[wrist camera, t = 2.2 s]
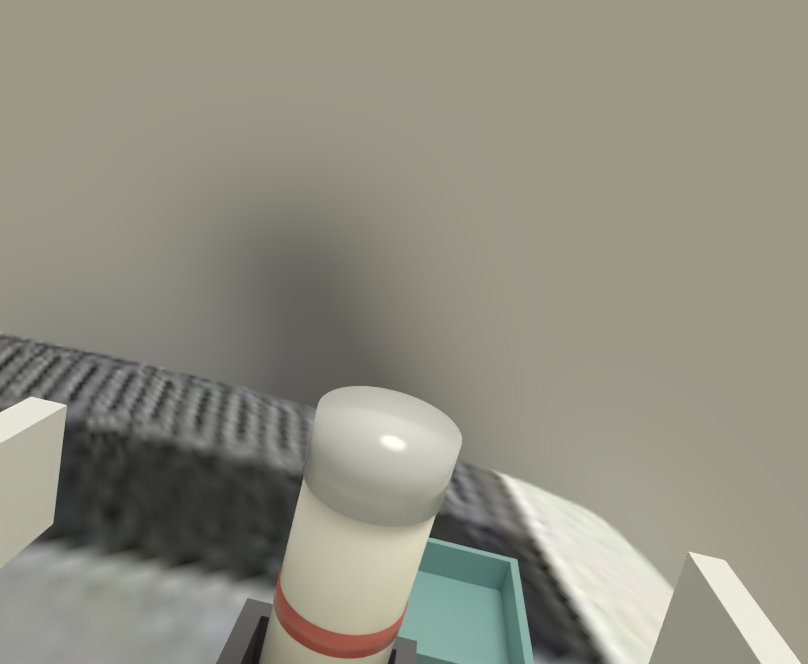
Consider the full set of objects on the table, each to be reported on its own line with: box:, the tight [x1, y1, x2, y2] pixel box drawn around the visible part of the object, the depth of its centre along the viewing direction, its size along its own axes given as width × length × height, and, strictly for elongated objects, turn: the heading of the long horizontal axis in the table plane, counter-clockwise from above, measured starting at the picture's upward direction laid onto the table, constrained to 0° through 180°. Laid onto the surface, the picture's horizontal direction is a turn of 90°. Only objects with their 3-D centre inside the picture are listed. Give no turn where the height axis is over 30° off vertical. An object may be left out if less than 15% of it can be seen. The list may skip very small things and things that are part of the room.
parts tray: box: [397, 537, 534, 664], centre depth 39 cm, size 11×11×3 cm
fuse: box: [259, 386, 462, 664], centre depth 25 cm, size 5×5×15 cm
